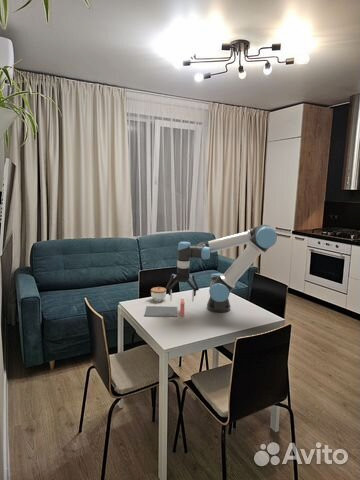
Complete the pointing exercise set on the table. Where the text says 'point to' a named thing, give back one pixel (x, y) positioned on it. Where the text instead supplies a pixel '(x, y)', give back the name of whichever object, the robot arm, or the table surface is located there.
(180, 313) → the deck
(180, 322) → the table surface
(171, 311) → the mat
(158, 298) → the lidded jar
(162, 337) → the table surface
